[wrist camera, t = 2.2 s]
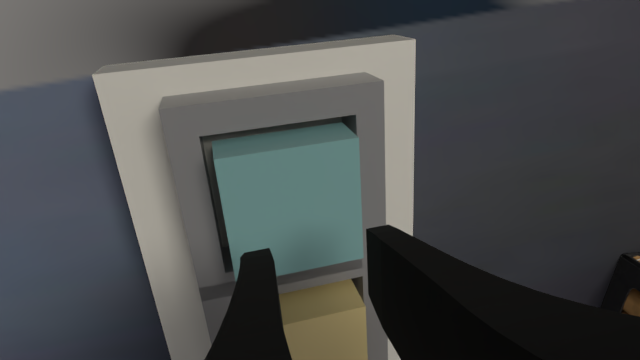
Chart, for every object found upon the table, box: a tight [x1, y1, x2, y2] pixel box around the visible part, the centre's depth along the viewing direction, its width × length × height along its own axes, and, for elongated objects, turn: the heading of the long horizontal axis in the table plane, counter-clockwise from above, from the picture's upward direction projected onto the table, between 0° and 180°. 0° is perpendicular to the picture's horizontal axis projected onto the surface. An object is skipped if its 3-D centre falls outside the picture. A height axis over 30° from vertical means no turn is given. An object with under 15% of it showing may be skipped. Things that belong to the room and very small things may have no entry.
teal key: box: [212, 122, 364, 281], centre depth 15 cm, size 4×4×2 cm
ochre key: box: [279, 279, 368, 360], centre depth 17 cm, size 4×4×2 cm
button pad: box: [92, 35, 416, 360], centre depth 19 cm, size 21×11×4 cm, turn 4°
